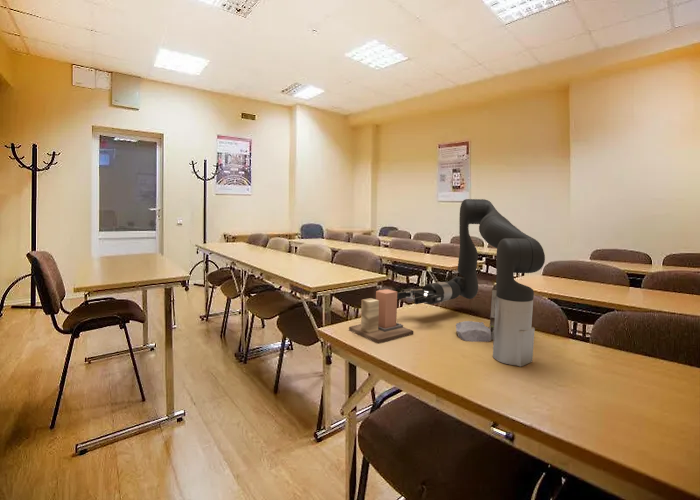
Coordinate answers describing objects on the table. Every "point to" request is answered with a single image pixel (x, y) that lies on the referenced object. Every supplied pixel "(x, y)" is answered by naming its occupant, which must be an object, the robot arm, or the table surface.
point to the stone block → (473, 331)
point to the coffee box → (493, 312)
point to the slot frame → (391, 327)
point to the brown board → (382, 334)
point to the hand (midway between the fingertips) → (406, 298)
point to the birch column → (369, 315)
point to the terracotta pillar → (387, 308)
